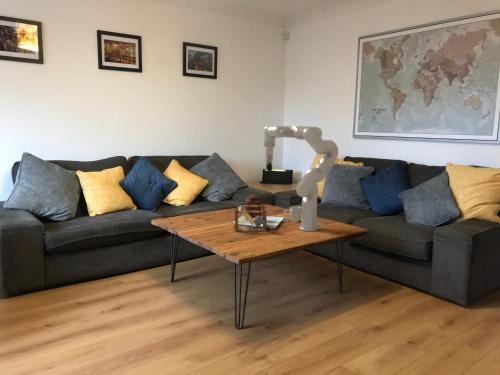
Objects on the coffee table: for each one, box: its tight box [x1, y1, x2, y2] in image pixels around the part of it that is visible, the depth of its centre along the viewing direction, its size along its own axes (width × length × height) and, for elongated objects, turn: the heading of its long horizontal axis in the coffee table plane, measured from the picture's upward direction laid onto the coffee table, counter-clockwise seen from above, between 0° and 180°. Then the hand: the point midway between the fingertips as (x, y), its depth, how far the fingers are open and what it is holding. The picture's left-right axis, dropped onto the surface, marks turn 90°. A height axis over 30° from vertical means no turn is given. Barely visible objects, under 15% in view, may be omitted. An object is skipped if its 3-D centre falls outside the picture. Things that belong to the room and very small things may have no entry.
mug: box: [283, 205, 302, 223], centre depth 292 cm, size 8×13×10 cm, turn 89°
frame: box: [234, 204, 268, 233], centre depth 273 cm, size 20×20×14 cm
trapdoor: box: [238, 206, 254, 225], centre depth 273 cm, size 12×14×2 cm
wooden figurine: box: [244, 194, 262, 218], centre depth 294 cm, size 12×6×18 cm, turn 81°
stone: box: [253, 215, 263, 227], centre depth 274 cm, size 5×5×5 cm
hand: (269, 170), depth 284 cm, fingers open, 9 cm apart
